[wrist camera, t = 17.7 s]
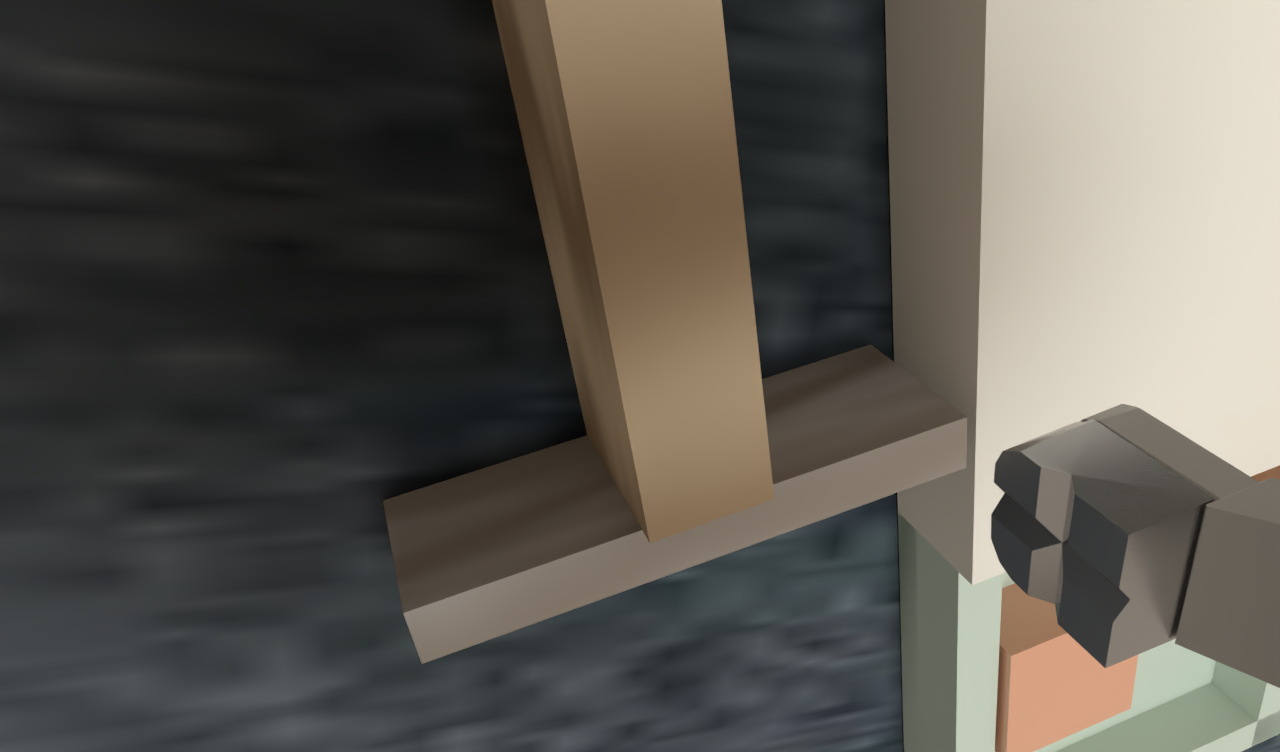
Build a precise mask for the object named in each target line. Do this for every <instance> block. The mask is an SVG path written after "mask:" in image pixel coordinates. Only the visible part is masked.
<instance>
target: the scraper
mask: <svg viewBox="0 0 1280 752" xmlns="http://www.w3.org/2000/svg"><path fill="white" fill-rule="evenodd" d="M492 4H493V8H494V13H495V17H496V22H497V26H498V31H499V35H500V40H501V45H502V49H503V54H504V58H505V63H506V67H507V72H508V77H509V81H510V86H511V90H512V95H513V99H514V104H515V108H516V113H517V118H518V122H519V127H520V131H521V136H522V140H523V145H524V150H525V154H526V159H527V163H528V168H529V172H530V177H531V181H532V186H533V191H534V195H535V200H536V204H537V209H538V213H539V218H540V223H541V227H542V232H543V236H544V241H545V245H546V250H547V254H548V259H549V264H550V268H551V273H552V277H553V282H554V286H555V291H556V296H557V300H558V305H559V309H560V314H561V318H562V323H563V327H564V332H565V337H566V341H567V346H568V350H569V355H570V359H571V364H572V369H573V373H574V378H575V382H576V387H577V391H578V396H579V400H580V405H581V410H582V414H583V419H584V423H585V428H586V432H587V435H586V436H583V437H580V438H577V439H574V440H571V441H567V442H564V443H561V444H558V445H555V446H552V447H549V448H546V449H542V450H539V451H536V452H533V453H530V454H527V455H524V456H521V457H517V458H514V459H511V460H508V461H505V462H502V463H499V464H496V465H492V466H489V467H486V468H483V469H480V470H477V471H474V472H471V473H468V474H464V475H461V476H458V477H455V478H452V479H449V480H446V481H443V482H439V483H436V484H433V485H430V486H427V487H424V488H421V489H418V490H414V491H411V492H408V493H405V494H402V495H399V496H396V497H393V498H389V499H386V500H383V505H384V511H385V516H386V522H387V527H388V533H389V538H390V544H391V549H392V555H393V560H394V566H395V571H396V577H397V582H398V588H399V593H400V599H401V604H402V610H403V614H404V617H405V620H406V622H407V625H408V628H409V630H410V633H411V636H412V638H413V641H414V644H415V646H416V649H417V652H418V654H419V657H420V660H421V662H422V664H423V663H426V662H429V661H432V660H434V659H437V658H440V657H443V656H445V655H448V654H451V653H454V652H456V651H459V650H462V649H465V648H468V647H470V646H473V645H476V644H479V643H481V642H484V641H487V640H490V639H493V638H495V637H498V636H501V635H504V634H506V633H509V632H512V631H515V630H517V629H520V628H523V627H526V626H529V625H531V624H534V623H537V622H540V621H542V620H545V619H548V618H551V617H554V616H556V615H559V614H562V613H565V612H567V611H570V610H573V609H576V608H578V607H581V606H584V605H587V604H590V603H592V602H595V601H598V600H601V599H603V598H606V597H609V596H612V595H615V594H617V593H620V592H623V591H626V590H628V589H631V588H634V587H637V586H639V585H642V584H645V583H648V582H651V581H653V580H656V579H659V578H662V577H664V576H667V575H670V574H673V573H676V572H678V571H681V570H684V569H687V568H689V567H692V566H695V565H698V564H701V563H703V562H706V561H709V560H712V559H714V558H717V557H720V556H723V555H725V554H728V553H731V552H734V551H737V550H739V549H742V548H745V547H748V546H750V545H753V544H756V543H759V542H762V541H764V540H767V539H770V538H773V537H775V536H778V535H781V534H784V533H786V532H789V531H792V530H795V529H798V528H800V527H803V526H806V525H809V524H811V523H814V522H817V521H820V520H823V519H825V518H828V517H831V516H834V515H836V514H839V513H842V512H845V511H847V510H850V509H853V508H856V507H859V506H861V505H864V504H867V503H870V502H872V501H875V500H878V499H881V498H884V497H886V496H889V495H892V494H895V493H897V492H900V491H903V490H906V489H908V488H911V487H914V486H917V485H920V484H922V483H925V482H928V481H931V480H933V479H936V478H939V477H942V476H945V475H947V474H950V473H953V472H956V471H958V470H961V469H964V468H966V457H967V417H966V416H965V415H964V414H962V413H961V412H960V411H958V410H957V409H956V408H954V407H953V406H952V405H950V404H949V403H948V402H946V401H945V400H944V399H942V398H941V397H940V396H939V395H937V394H936V393H935V392H933V391H932V390H931V389H929V388H928V387H927V386H925V385H924V384H923V383H921V382H920V381H919V380H917V379H916V378H915V377H913V376H912V375H911V374H909V373H908V372H907V371H905V370H904V369H903V368H901V367H900V366H899V365H897V364H896V363H895V362H893V361H892V360H891V359H889V358H888V357H887V356H885V355H884V354H883V353H881V352H880V351H879V350H877V349H876V348H875V347H873V346H872V345H871V344H870V345H867V346H864V347H861V348H858V349H855V350H852V351H848V352H845V353H842V354H839V355H836V356H833V357H830V358H827V359H823V360H820V361H817V362H814V363H811V364H808V365H805V366H802V367H798V368H795V369H792V370H789V371H786V372H783V373H780V374H777V375H773V376H770V377H767V378H764V379H762V377H761V367H760V358H759V349H758V339H757V330H756V320H755V311H754V302H753V292H752V283H751V273H750V264H749V255H748V245H747V236H746V226H745V217H744V208H743V198H742V189H741V179H740V170H739V160H738V151H737V142H736V132H735V123H734V113H733V104H732V95H731V85H730V76H729V66H728V57H727V48H726V38H725V29H724V19H723V10H722V0H492Z"/></svg>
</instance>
